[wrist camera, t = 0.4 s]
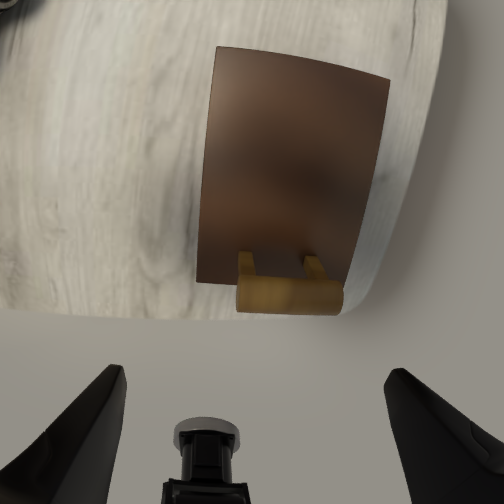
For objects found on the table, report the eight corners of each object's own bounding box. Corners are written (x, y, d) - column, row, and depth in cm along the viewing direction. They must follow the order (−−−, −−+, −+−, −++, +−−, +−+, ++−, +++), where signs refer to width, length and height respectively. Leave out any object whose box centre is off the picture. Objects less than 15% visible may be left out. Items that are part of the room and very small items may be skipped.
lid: (339, 284, 19) (368, 338, 15) (196, 276, 18) (189, 334, 14) (384, 80, 14) (440, 80, 9) (216, 48, 13) (212, 25, 8)
